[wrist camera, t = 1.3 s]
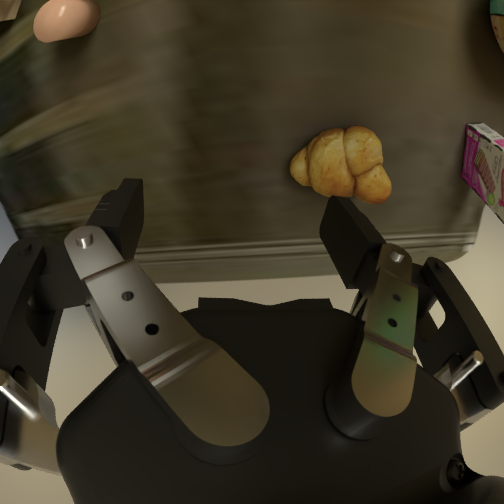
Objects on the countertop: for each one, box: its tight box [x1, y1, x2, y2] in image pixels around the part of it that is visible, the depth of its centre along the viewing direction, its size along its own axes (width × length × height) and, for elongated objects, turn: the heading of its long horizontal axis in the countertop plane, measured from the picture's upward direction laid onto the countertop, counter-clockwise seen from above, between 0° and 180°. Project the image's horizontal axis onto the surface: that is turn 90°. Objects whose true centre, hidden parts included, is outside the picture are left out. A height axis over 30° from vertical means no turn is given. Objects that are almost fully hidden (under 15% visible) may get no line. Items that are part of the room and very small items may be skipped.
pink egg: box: [33, 0, 101, 42], centre depth 16 cm, size 5×5×7 cm
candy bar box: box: [461, 123, 504, 224], centre depth 30 cm, size 11×5×16 cm, turn 17°
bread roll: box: [290, 125, 391, 205], centre depth 33 cm, size 13×10×8 cm
